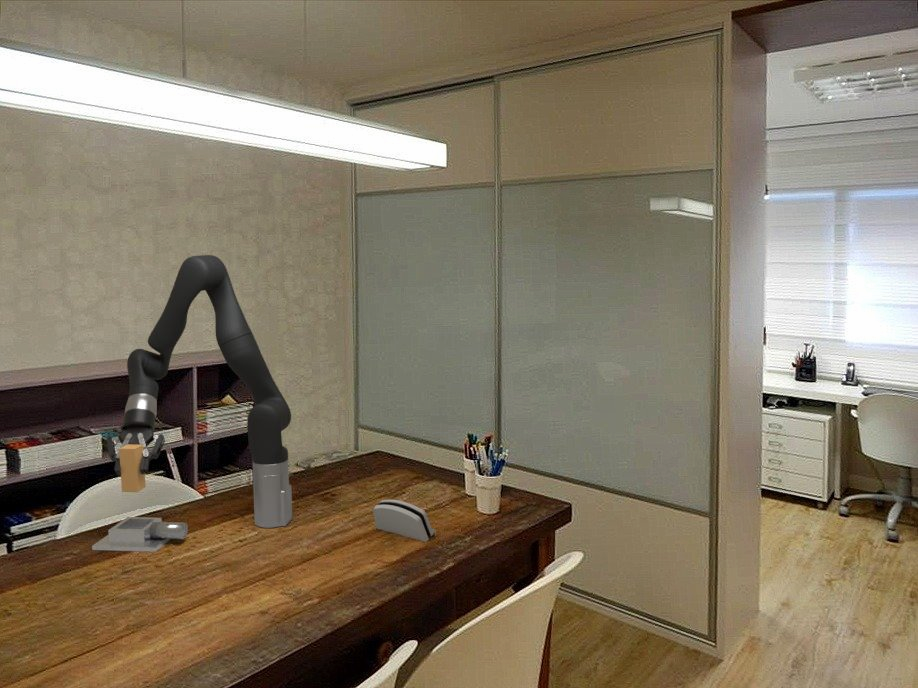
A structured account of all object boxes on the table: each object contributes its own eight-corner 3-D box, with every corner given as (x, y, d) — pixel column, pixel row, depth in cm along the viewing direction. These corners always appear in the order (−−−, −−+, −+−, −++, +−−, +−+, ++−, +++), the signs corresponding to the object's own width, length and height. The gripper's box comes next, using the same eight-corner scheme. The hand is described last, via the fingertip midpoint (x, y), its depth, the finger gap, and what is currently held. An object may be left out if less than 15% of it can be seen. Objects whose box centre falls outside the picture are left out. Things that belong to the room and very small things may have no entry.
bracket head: (195, 533, 184) (194, 514, 184) (173, 552, 172) (172, 532, 172) (118, 531, 186) (117, 512, 185) (92, 549, 174) (90, 530, 173)
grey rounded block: (437, 535, 183) (429, 503, 179) (427, 547, 180) (419, 515, 176) (387, 522, 192) (378, 491, 188) (376, 533, 189) (367, 502, 185)
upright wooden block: (145, 487, 180) (143, 444, 178) (137, 492, 176) (134, 449, 174) (130, 486, 180) (127, 444, 179) (121, 491, 176) (119, 448, 175)
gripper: (107, 408, 181) (95, 467, 171) (166, 406, 184) (158, 464, 174) (114, 423, 187) (103, 482, 177) (171, 421, 190) (164, 479, 180)
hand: (130, 473), depth 175 cm, fingers closed on upright wooden block, 5 cm apart
